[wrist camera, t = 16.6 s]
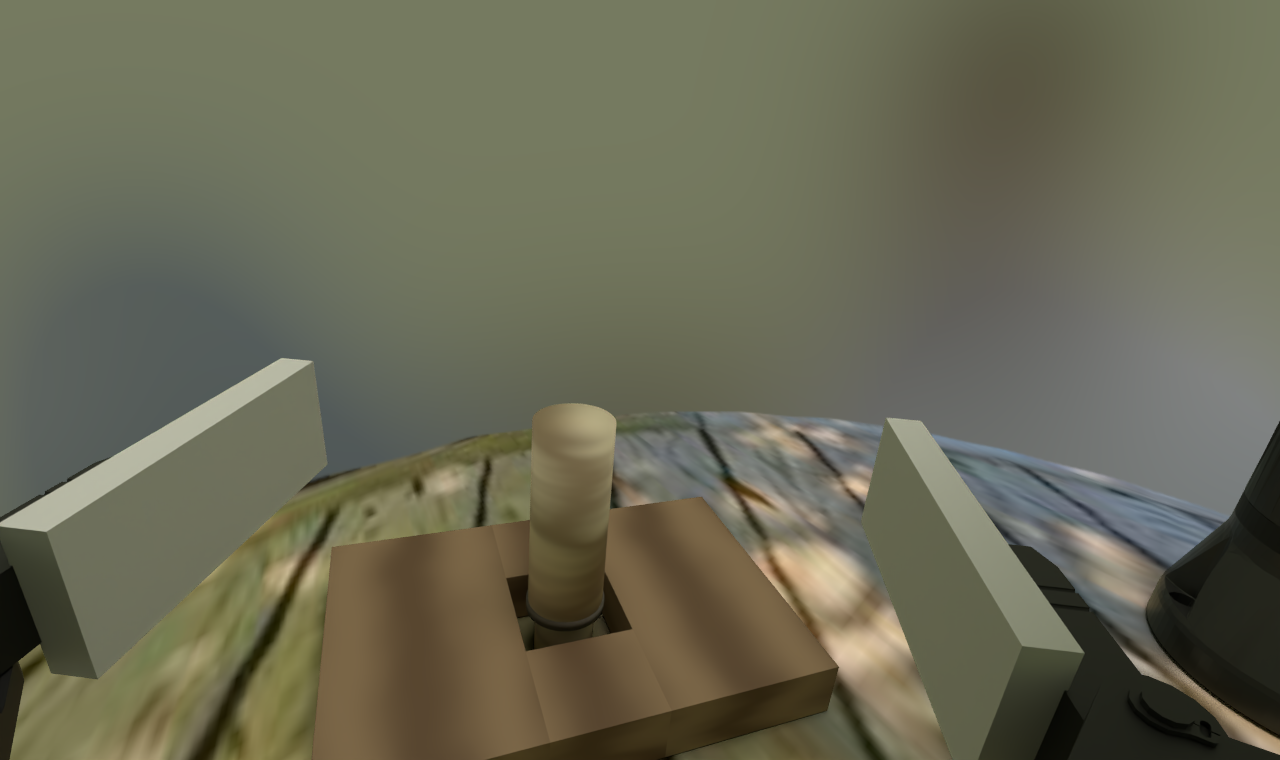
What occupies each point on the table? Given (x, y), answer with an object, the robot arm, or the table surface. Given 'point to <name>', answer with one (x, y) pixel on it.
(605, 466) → the peg
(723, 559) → the board
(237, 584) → the table surface
